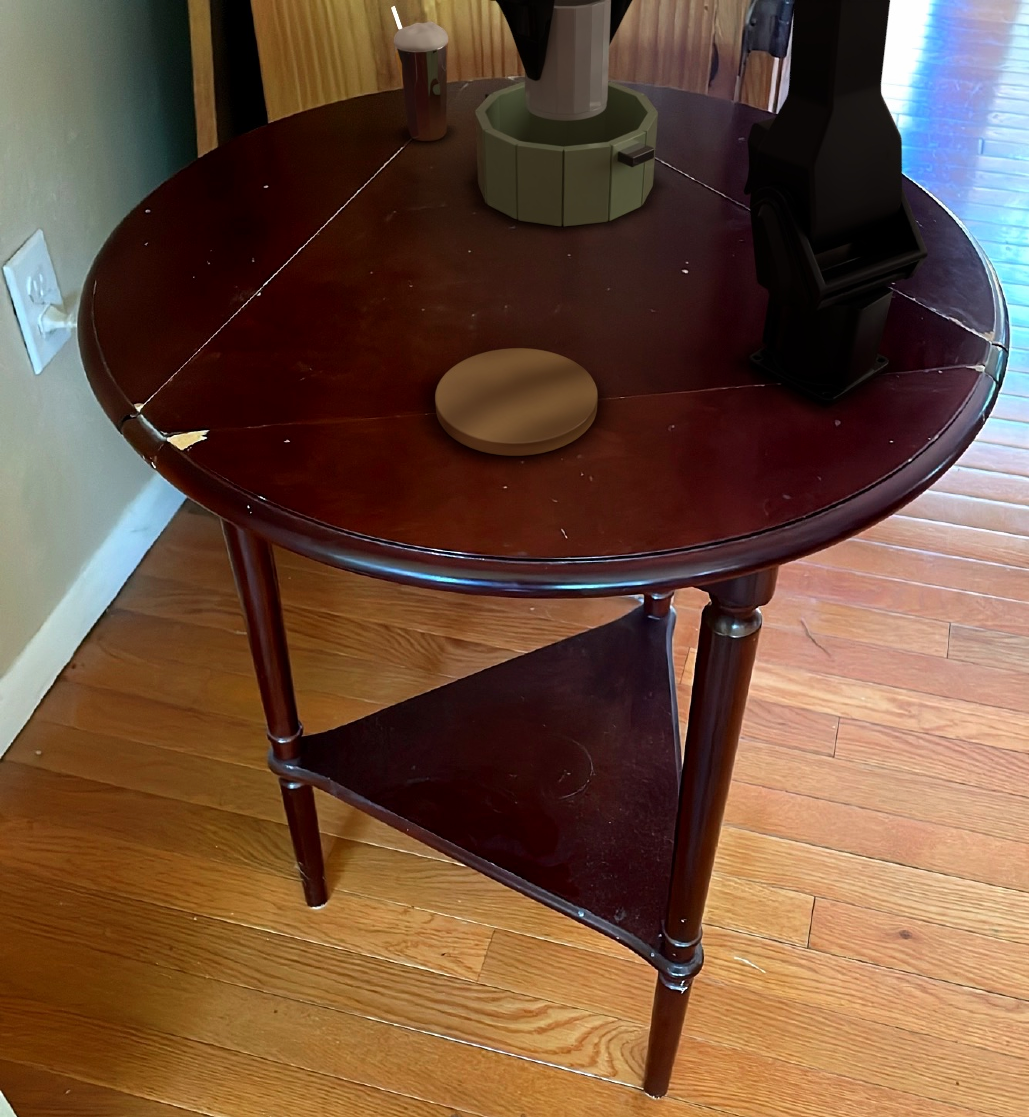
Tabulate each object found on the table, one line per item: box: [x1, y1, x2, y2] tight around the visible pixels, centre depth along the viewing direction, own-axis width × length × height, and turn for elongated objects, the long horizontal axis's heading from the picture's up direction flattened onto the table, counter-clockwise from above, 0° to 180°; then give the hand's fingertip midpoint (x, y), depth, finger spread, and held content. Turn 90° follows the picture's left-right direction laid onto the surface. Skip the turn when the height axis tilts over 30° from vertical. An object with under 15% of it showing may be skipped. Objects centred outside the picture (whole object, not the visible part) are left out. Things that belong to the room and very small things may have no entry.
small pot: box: [524, 0, 611, 121], centre depth 84 cm, size 6×6×8 cm
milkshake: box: [390, 5, 449, 142], centre depth 96 cm, size 4×5×10 cm
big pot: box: [474, 80, 659, 227], centre depth 89 cm, size 17×14×6 cm
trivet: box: [434, 347, 599, 457], centre depth 69 cm, size 10×10×1 cm
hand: (566, 67), depth 85 cm, fingers closed on small pot, 6 cm apart
